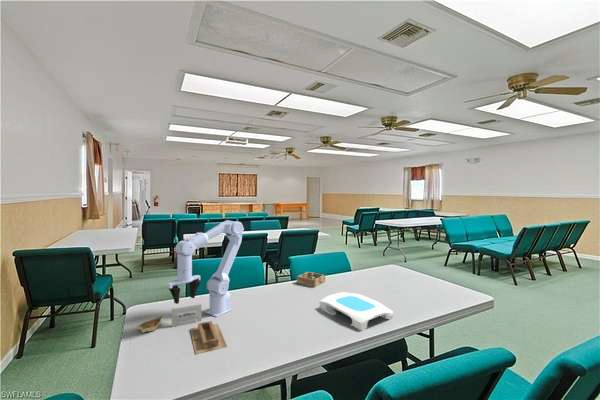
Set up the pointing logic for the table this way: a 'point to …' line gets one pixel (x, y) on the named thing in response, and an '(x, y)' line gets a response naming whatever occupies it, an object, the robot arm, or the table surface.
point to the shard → (149, 325)
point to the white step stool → (355, 308)
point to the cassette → (186, 319)
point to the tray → (207, 337)
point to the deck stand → (310, 282)
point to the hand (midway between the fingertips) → (184, 300)
